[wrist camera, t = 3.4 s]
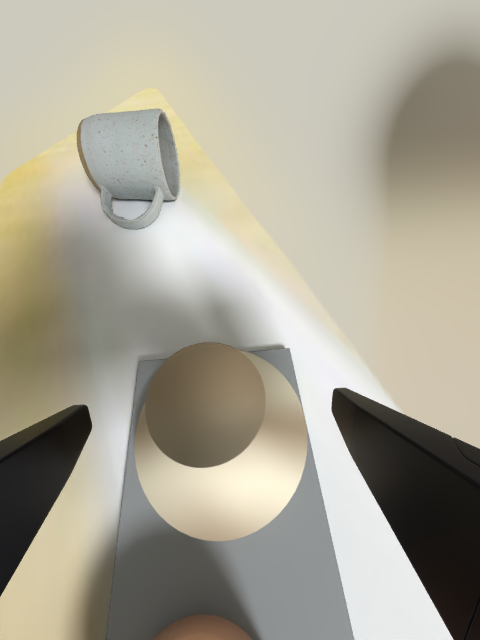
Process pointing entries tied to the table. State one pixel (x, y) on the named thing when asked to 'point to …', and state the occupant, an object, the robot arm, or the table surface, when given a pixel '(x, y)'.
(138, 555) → the slate mat
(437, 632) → the table surface
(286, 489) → the birch lid
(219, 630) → the terracotta bowl
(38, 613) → the table surface
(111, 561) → the table surface
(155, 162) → the ceramic mug
